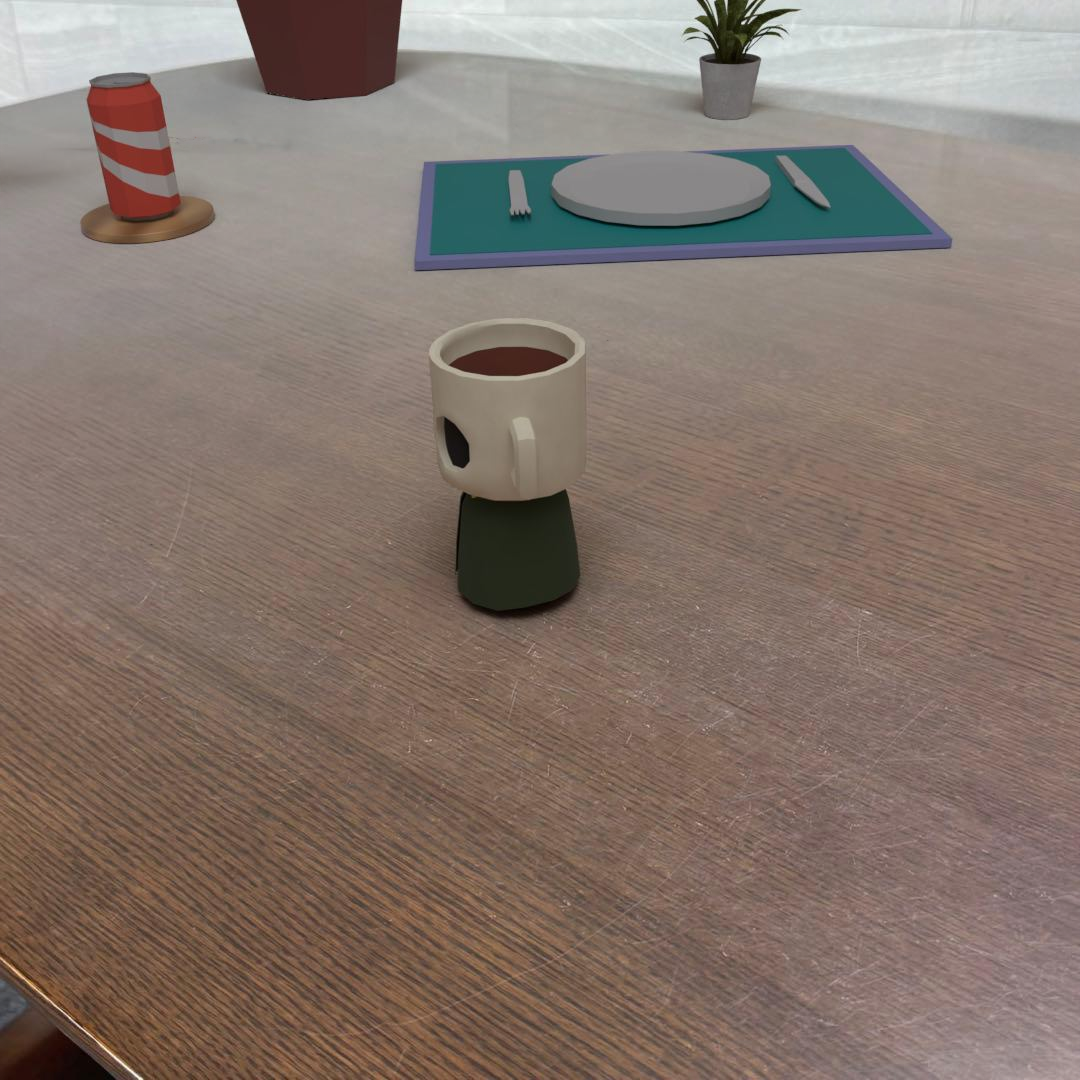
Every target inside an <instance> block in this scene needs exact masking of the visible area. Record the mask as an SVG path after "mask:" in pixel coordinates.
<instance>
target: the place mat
mask: <svg viewBox="0 0 1080 1080" xmlns="http://www.w3.org/2000/svg"><path fill="white" fill-rule="evenodd" d="M419 199H420V200H419V201H420V202H419V210H418V220H417V231H416V240H415V241H416V242H415V252H414V261H413V262H414V270H415V271H430V270H452V269H453V270H454V269H457V270H458V269H477V268H501V267H502V268H503V267H523V266H524V267H526V266H546V265H547V266H548V265H549V266H550V265H571V264H574V265H575V264H594V263H595V264H596V263H616V262H617V263H618V262H639V261H663V260H665V261H667V260H683V259H684V260H687V259H710V258H711V259H713V258H733V257H736V258H737V257H755V256H756V257H758V256H781V255H784V256H785V255H804V254H805V255H806V254H807V255H808V254H829V253H830V254H831V253H853V252H875V251H876V252H878V251H898V250H899V251H900V250H901V251H902V250H923V249H944V248H945V249H946V248H952V245H953V238H952V236H950V235H949V234H948V232H946V231H945V230H944V229H943V228H942V227H941V226H940V225H939V224H938V223H937V222H936V221H934V220H933V219H932V218H931V217H930V216H929V215H928V214H927V213H926V212H925V211H924V210H923V209H922V208H921V207H920V206H919V205H917V203H915V202H914V200H912V199H911V198H910V197H909V196H908V195H907V194H906V193H904V191H903V190H901V188H899V187H898V185H896V183H894V182H893V181H892V180H891V179H890V178H889V177H888V176H887V175H886V174H885V173H883V171H882V170H881V169H879V168H878V167H877V166H876V164H874V163H873V162H872V161H871V160H870V159H868V158H867V157H866V155H864V154H863V153H862V151H860V150H859V148H857V147H856V146H855V145H854V144H841V145H840V144H839V145H835V144H834V145H816V146H815V145H812V146H790V147H789V146H785V147H765V148H764V147H763V148H736V149H713V150H712V149H711V150H686V151H685V150H684V151H681V150H673V151H672V150H652V151H651V150H643V151H631V152H620V153H612V154H588V155H585V154H584V155H559V156H537V157H536V156H535V157H533V156H532V157H513V158H512V157H510V158H509V157H508V158H487V159H486V158H485V159H466V160H465V159H462V160H460V159H459V160H439V161H438V160H437V161H435V160H434V161H432V160H431V161H423V169H422V178H421V189H420V198H419Z"/></svg>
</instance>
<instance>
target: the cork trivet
mask: <svg viewBox="0 0 1080 1080" xmlns="http://www.w3.org/2000/svg"><path fill="white" fill-rule="evenodd" d="M179 196H180V201H181V204H180V205H179V206H178V207H176V208H175V209H174V211H173V212H172V213H171V214H170V215H168V216H167V217H164V218H160V219H156V220H153V221H139V222H135V221H129V220H124V219H123V218H122V217H121V216H120V215H114V213H113V212H112V210H111V209H110V205H109V203H106V204H103V205H101V206H98V207H96V208H93V209H91V210H90V211H88V212H87V213H86V214H84V215H83V216H82V217H81V219H80V223H79V224H80V228H81V232H82V234H83V235H84V236H85V237H87V238H89V239H92V240H94V241H98V242H102V243H111V244H144V243H145V244H146V243H155V242H162V241H166V240H167V241H168V240H172V239H176V238H180V237H184V236H188V235H190V234H193V233H196V232H198V231H201V230H202V229H204V228H206V227H207V226H209V225H210V224H211V223H212V222H213V221H214V219H215V217H216V216H215V210H214V206H213V204H211V202H209V201H207V200H205V199H203V198H200V197H195V196H189V195H181V194H179Z"/></svg>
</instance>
